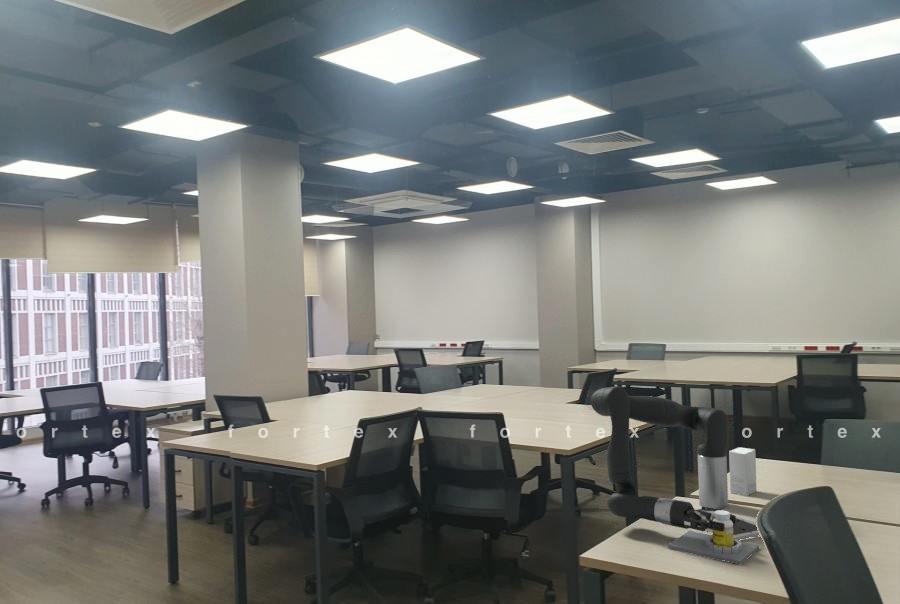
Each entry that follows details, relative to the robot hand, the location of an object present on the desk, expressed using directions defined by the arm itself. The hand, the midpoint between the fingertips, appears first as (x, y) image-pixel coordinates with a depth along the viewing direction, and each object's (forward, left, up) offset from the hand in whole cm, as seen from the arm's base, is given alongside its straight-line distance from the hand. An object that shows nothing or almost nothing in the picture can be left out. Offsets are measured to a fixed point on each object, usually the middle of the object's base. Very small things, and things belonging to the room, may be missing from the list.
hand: (730, 523), depth 184 cm
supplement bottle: (0, -2, -7) cm, 7 cm away
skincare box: (-61, -17, -8) cm, 64 cm away
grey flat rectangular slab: (0, -5, -8) cm, 9 cm away
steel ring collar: (0, -2, -8) cm, 8 cm away
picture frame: (-20, -8, -9) cm, 23 cm away
